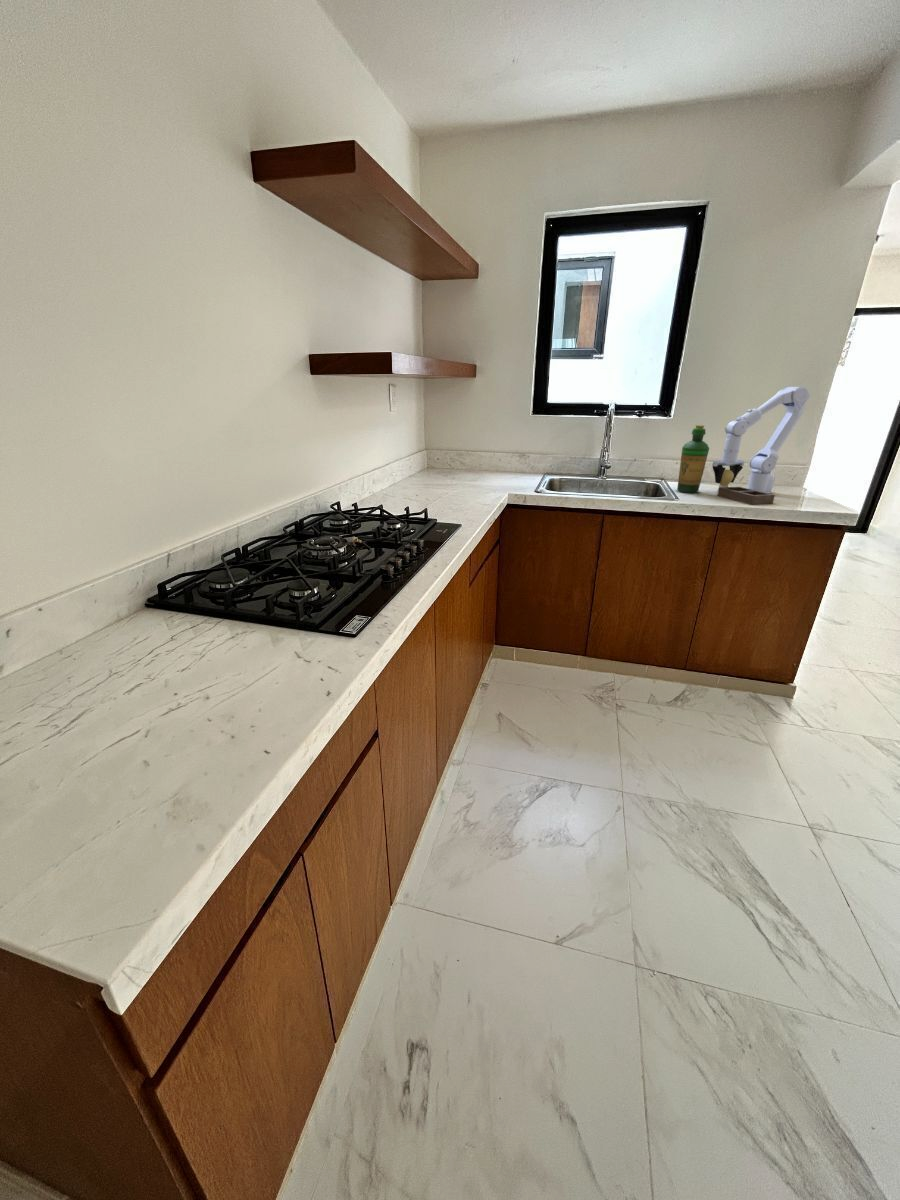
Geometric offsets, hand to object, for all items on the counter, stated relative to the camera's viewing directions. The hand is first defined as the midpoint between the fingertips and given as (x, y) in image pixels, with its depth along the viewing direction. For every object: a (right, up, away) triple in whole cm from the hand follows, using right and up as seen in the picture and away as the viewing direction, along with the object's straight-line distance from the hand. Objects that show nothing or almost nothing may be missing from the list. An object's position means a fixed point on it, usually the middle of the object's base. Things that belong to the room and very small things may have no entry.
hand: (724, 482), depth 220 cm
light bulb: (0, -4, +2) cm, 5 cm away
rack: (+2, -10, -12) cm, 16 cm away
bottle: (-15, -3, +3) cm, 15 cm away
